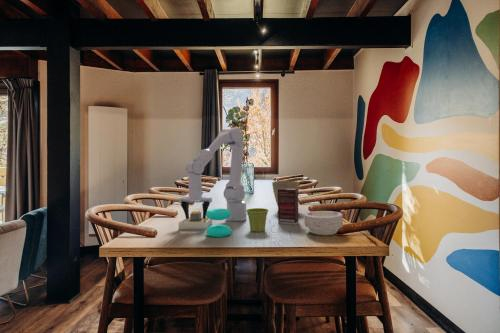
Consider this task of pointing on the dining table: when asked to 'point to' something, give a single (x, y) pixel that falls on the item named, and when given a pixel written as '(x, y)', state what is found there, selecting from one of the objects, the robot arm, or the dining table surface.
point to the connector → (195, 216)
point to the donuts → (218, 229)
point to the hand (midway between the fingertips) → (195, 218)
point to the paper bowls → (323, 222)
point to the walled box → (195, 224)
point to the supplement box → (288, 206)
